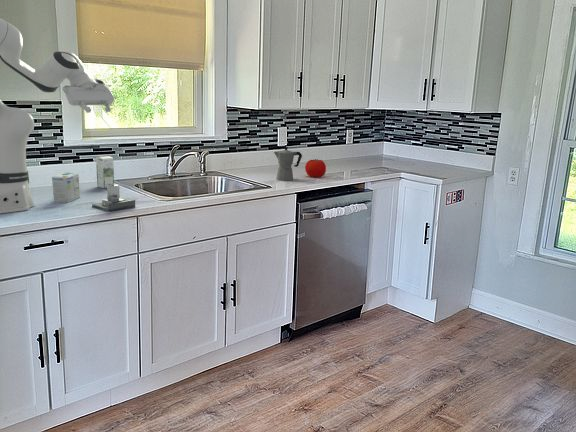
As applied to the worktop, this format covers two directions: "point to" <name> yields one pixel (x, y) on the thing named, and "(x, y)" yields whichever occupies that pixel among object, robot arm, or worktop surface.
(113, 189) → the hub
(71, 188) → the light bulb box
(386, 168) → the worktop surface
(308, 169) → the tomato
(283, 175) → the coffeepot
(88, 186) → the worktop surface
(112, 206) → the seat plate
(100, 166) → the syrup box
